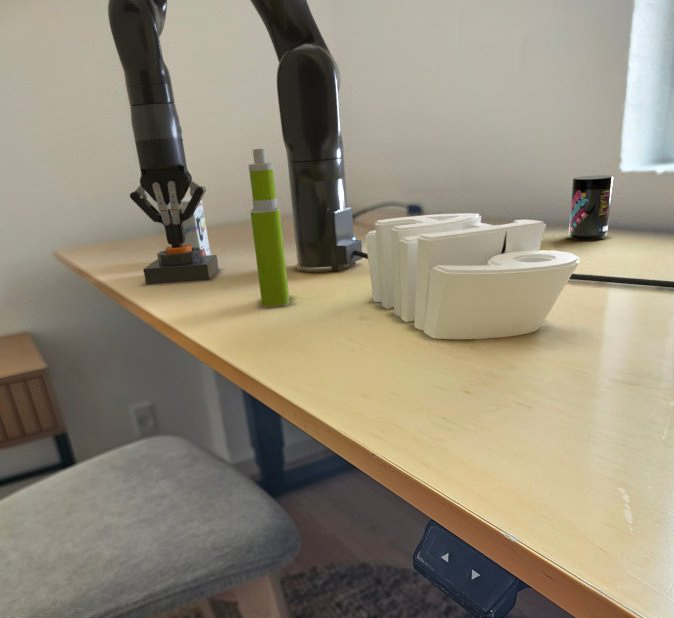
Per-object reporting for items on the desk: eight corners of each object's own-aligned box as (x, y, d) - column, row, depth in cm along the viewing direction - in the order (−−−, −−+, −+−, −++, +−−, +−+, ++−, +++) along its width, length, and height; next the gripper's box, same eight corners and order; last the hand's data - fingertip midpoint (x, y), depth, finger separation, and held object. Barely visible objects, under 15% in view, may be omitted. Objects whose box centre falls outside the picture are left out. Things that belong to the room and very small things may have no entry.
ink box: (203, 265, 125) (192, 200, 120) (178, 267, 125) (166, 202, 120) (211, 257, 132) (202, 195, 127) (188, 259, 133) (177, 197, 127)
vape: (289, 296, 97) (273, 147, 88) (288, 305, 91) (271, 148, 83) (264, 298, 97) (246, 149, 88) (261, 308, 91) (241, 151, 83)
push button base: (218, 269, 120) (215, 244, 118) (209, 280, 112) (205, 253, 110) (159, 274, 120) (154, 249, 118) (146, 284, 112) (140, 258, 110)
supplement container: (573, 234, 125) (578, 175, 121) (611, 235, 122) (617, 174, 117) (563, 240, 120) (568, 179, 116) (601, 241, 117) (608, 178, 112)
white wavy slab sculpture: (356, 288, 98) (352, 214, 93) (460, 275, 101) (461, 202, 96) (445, 357, 67) (445, 251, 62) (591, 335, 70) (601, 232, 65)
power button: (195, 253, 116) (193, 243, 116) (189, 258, 112) (188, 247, 112) (170, 255, 116) (168, 245, 116) (164, 260, 113) (162, 249, 112)
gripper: (110, 140, 103) (133, 253, 111) (193, 133, 102) (211, 247, 110) (124, 139, 110) (146, 246, 117) (202, 132, 109) (219, 240, 117)
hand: (177, 246), depth 114 cm, fingers closed
